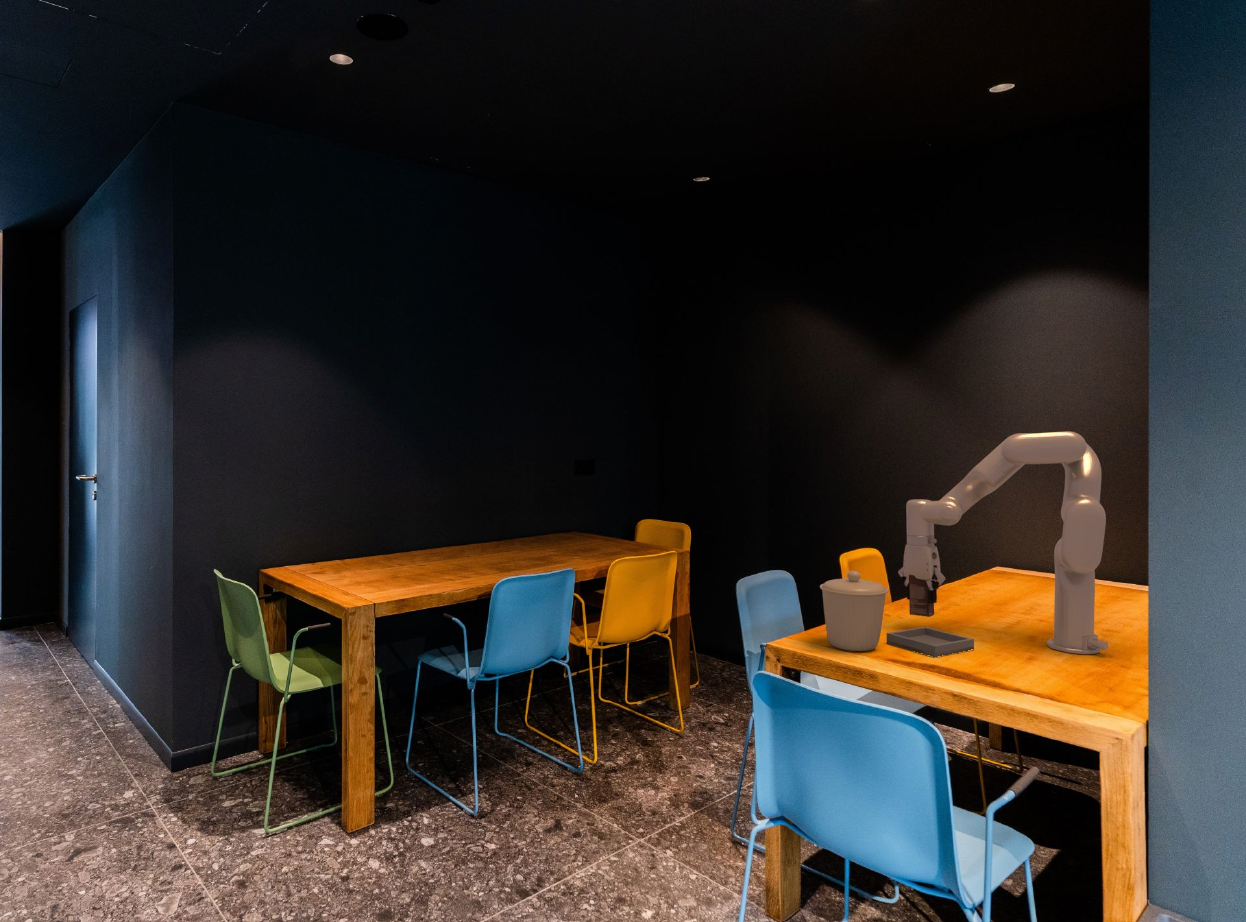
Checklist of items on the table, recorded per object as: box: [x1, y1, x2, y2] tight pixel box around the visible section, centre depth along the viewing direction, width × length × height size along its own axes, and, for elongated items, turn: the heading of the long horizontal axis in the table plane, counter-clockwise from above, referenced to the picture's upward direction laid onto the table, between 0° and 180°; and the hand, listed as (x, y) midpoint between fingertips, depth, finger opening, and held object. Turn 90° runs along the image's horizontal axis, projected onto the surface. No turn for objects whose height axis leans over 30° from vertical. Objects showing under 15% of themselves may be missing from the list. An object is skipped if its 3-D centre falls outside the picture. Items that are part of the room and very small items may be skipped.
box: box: [908, 575, 935, 618], centre depth 224 cm, size 6×4×12 cm
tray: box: [886, 626, 975, 658], centre depth 209 cm, size 16×16×3 cm
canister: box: [819, 570, 889, 652], centre depth 209 cm, size 18×18×21 cm
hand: (921, 600), depth 224 cm, fingers closed on box, 6 cm apart
